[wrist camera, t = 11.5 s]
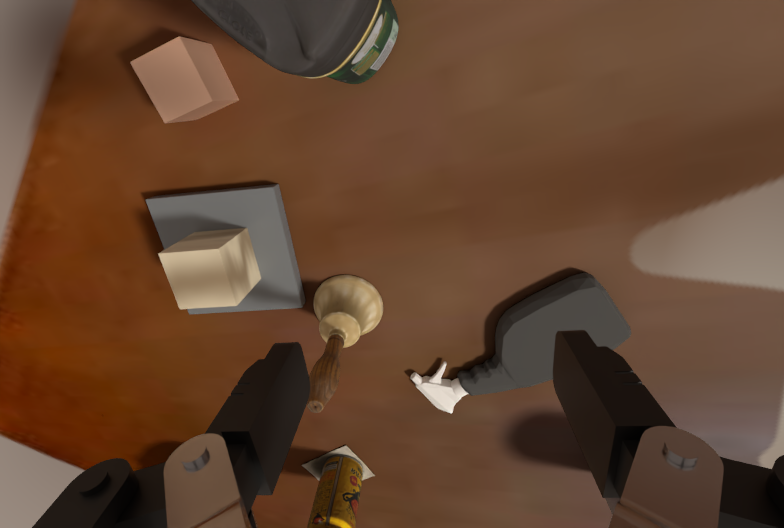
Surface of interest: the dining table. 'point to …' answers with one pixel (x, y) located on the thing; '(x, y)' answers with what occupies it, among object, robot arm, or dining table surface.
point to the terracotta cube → (184, 80)
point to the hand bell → (340, 329)
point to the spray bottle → (533, 340)
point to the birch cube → (211, 268)
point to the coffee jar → (311, 34)
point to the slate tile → (233, 211)
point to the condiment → (337, 488)
